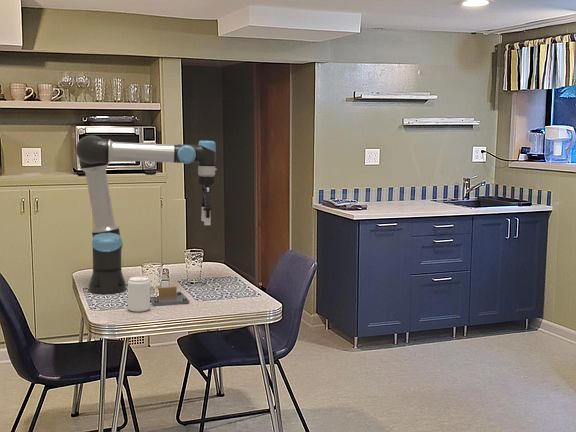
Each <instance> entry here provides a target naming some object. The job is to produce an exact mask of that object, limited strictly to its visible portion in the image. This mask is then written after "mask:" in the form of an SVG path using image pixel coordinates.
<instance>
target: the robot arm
mask: <svg viewBox="0 0 576 432" xmlns="http://www.w3.org/2000/svg"><path fill="white" fill-rule="evenodd" d="M216 146H217V145H216V142H215V141H213V140H199V141H198V144H181V143H177V144H165V143H161V144H160V143H145V142H144V143H139V142H123V141H121V142H119V141H113V140H111V139H109V138H108V139H107V138H101V137H100V136H97V135H92V134H91V135H86V136H84V137H82V138H80V139H79V140H78V141H77V142H76V147H75V154H76V156H77V158H78V160H79V167H80V169H81V171H83V172H84V173H85V178H86V184H87V190H88V195H89V201H90V208H91V214H92V219H93V220H92V221H93V224H94V228H93V229H92V230H91V234H92V241H91V246H92V275H91V278H90V281H89V283H88V291H89V293H92V294H99V295H101V294H102V295H109V294H110V295H111V294H119V293H123V292H125V291H126V290H127V283H126V281H125V278H124V275H123V271H122V250H123V247H124V246H123V239H122V237H121V231H120V227H119V226H118V225H117V224H116V223H115V219H114V212H113V205H112V200H111V199H112V198H111V193H110V188H109V187H110V186H109V182H108V175H107V168H108V166H109V164H110V163H112V161H121V162H122V161H123V162H146V163H147V162H150V163H152V162H153V163H172V164H173V163H174V164H175V163H176V164H186V165H188V164H191V163H198V164H197V165H198V167H197V175H198V177H197V184H198V185H201V202H200V204H201V217H200V219H201V220H200V221H201V222H204V223H203V225H204V226H211V225H212V223H211V221H212V219H211V217H212V216H211V212H212V208H213V207H212V187H211V186H214V185H216V177H215V176H216V171H217V170H218V169H217V168H216V160H217V159H216V156H217V155H216V154H217V151H216V150H217V149H216V148H217V147H216Z"/></svg>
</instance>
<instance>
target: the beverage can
mask: <svg viewBox="0 0 576 432" xmlns="http://www.w3.org/2000/svg"><path fill="white" fill-rule="evenodd" d="M150 293H151V281H150V279H149V277H147V276H131V277H129V279H128V282H127V309H128V310H129V311H131V312H133V313H134V312H136V313H141V312H143V313H144V312H147V311H148V310H149V309H151V302H150Z"/></svg>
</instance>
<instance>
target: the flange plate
mask: <svg viewBox="0 0 576 432" xmlns="http://www.w3.org/2000/svg"><path fill="white" fill-rule="evenodd" d="M157 288H158V290H159V296H157V297H150V301H151V302H150V304H152V306H153V307H159V306H160V307H161V306H172V305H173V306H175V305H176V306H177V305H188V304H190V300H189V299H188V298H187V296H186V295H185V294H184V293H183V292H182V291H179V290H178V287H177V286H166V287H165V286H162V287H161V286H160V287H157Z"/></svg>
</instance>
